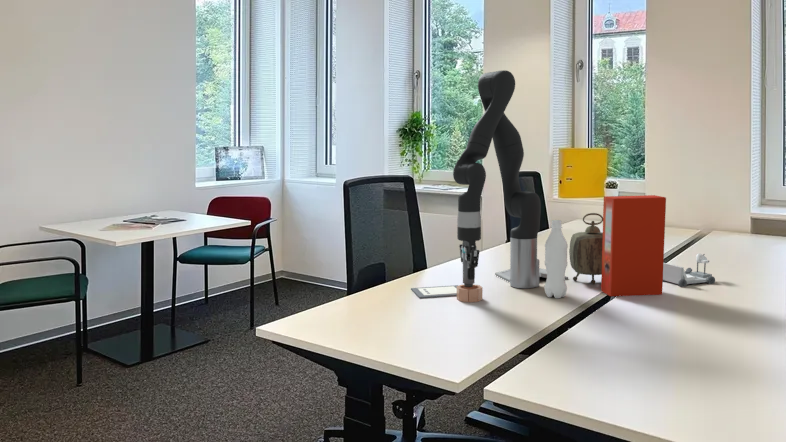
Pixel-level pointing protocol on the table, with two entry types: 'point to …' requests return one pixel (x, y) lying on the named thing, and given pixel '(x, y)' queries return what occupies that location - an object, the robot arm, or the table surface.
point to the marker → (466, 272)
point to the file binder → (633, 245)
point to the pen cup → (469, 293)
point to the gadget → (506, 274)
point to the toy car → (687, 273)
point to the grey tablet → (435, 291)
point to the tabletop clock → (587, 250)
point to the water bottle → (556, 261)
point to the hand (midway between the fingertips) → (469, 277)
